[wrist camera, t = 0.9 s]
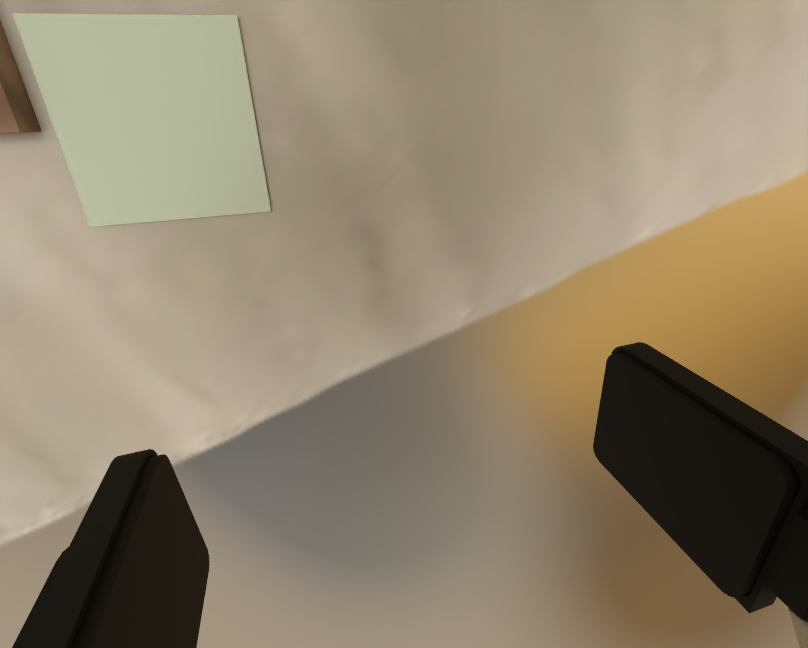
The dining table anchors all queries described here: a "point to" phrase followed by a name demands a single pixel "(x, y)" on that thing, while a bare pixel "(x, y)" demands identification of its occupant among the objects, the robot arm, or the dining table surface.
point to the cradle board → (13, 95)
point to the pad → (150, 113)
